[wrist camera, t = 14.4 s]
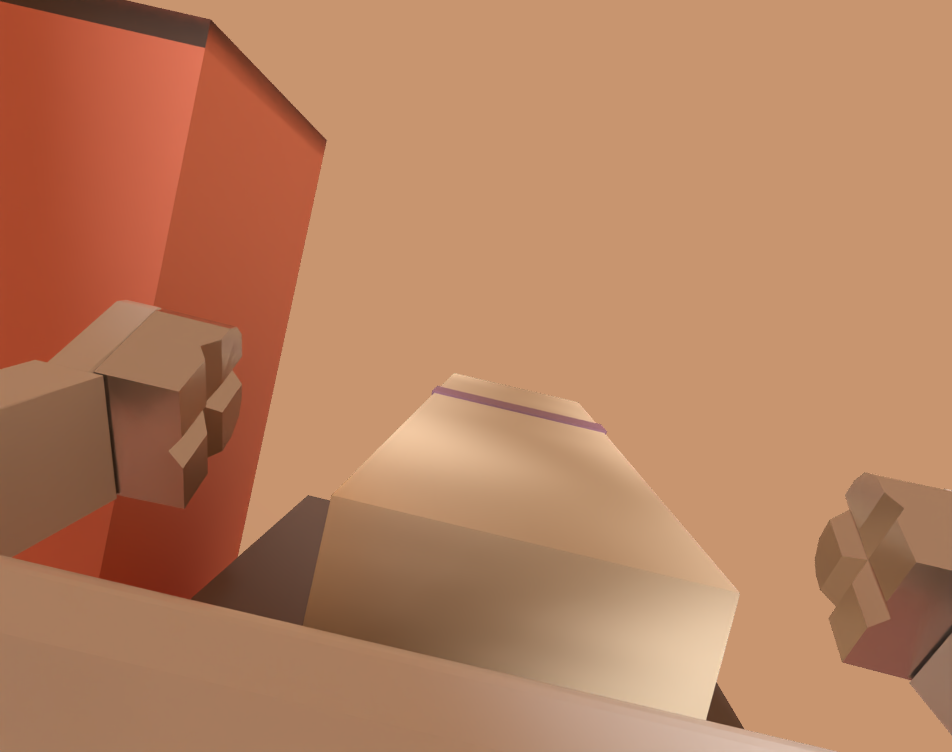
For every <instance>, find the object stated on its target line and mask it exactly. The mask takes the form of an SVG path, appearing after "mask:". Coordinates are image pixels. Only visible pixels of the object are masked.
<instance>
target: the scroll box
mask: <svg viewBox="0 0 952 752" xmlns="http://www.w3.org/2000/svg"><path fill="white" fill-rule="evenodd" d="M606 432H607V431H606V430H605V429H604V428H603V427H602V426H601V424H597V423H595V422H594V420H593V419H592V418H591V417H590V416H589V415H588V413H587V412H586V411H585V410H584V409H583V407H581V405H580V404H579V403H578V402H575V401H570V400H566V399H562V398H558V397H554V396H549V395H545V394H541V393H537V392H532V391H528V390H524V389H520V388H515V387H511V386H507V385H503V384H498V383H494V382H490V381H486V380H481V379H477V378H472V377H469V376H464V375H460V374H456V373H454V374H453V375H452V376H451V377H450V378H449V379H448V380H447V381H446V382H445V383H444V384H443V385H442V386H441V387H440V386H437V387H436V388H435V389H434V390H433V391H432V396H431V397H430V398H429V399H428V400H427V401H426V402H425V403H424V404H423V405H422V406H421V407H420V408H419V409H418V410H417V411H416V412H415V413H414V414H413V415H412V416H411V417H410V418H409V419H408V420H407V421H406V422H405V423H404V424H403V425H402V426H401V427H400V428H399V429H398V430H397V431H396V432H395V433H394V434H393V435H392V436H391V437H390V438H389V439H388V440H387V441H386V442H384V443H383V444H382V445H381V447H379V448H378V449H377V450H376V451H375V452H374V453H373V454H372V455H371V456H370V457H369V458H368V459H367V460H366V462H364V463H363V464H362V465H361V466H360V467H359V468H358V469H357V470H356V471H355V472H354V473H353V474H352V475H351V476H350V477H349V479H347V480H346V481H345V482H344V483H343V484H342V485H341V486H340V487H339V488H338V489H337V490H336V491H335V492H334V493H333V494H332V495H331V500H330V504H329V509H328V513H327V518H326V522H325V527H324V531H323V536H322V541H321V545H320V550H319V554H318V559H317V563H316V568H315V572H314V577H313V581H312V586H311V590H310V595H309V599H308V604H307V609H306V613H305V618H304V622H303V626H305V627H310V628H314V629H318V630H322V631H327V632H331V633H335V634H339V635H344V636H348V637H352V638H356V639H361V640H365V641H369V642H374V643H378V644H382V645H386V646H391V647H395V648H399V649H403V650H408V651H412V652H416V653H421V654H425V655H429V656H433V657H438V658H442V659H446V660H451V661H455V662H459V663H463V664H468V665H472V666H476V667H480V668H485V669H489V670H493V671H498V672H502V673H506V674H510V675H515V676H519V677H523V678H528V679H532V680H536V681H540V682H545V683H549V684H553V685H558V686H562V687H566V688H570V689H575V690H579V691H583V692H587V693H592V694H596V695H600V696H605V697H609V698H613V699H617V700H622V701H626V702H630V703H635V704H639V705H643V706H647V707H652V708H656V709H660V710H664V711H669V712H673V713H677V714H681V715H685V716H690V717H694V718H698V719H702V720H706V718H707V714H708V711H709V707H710V703H711V699H712V696H713V692H714V688H715V685H716V681H717V677H718V673H719V670H720V666H721V662H722V658H723V655H724V651H725V647H726V643H727V640H728V636H729V632H730V628H731V625H732V621H733V617H734V614H735V610H736V606H737V602H738V599H739V594H740V593H739V592H738V590H737V589H736V588H735V587H734V586H733V584H732V583H731V582H730V581H729V580H728V578H727V577H726V576H725V575H724V574H723V573H722V572H721V570H720V569H719V568H718V567H717V566H716V564H715V563H714V562H713V561H712V560H711V558H710V557H709V556H708V555H707V554H706V553H705V551H704V550H703V549H702V548H701V547H700V545H699V544H698V543H697V542H696V541H695V540H694V538H693V537H692V536H691V535H690V534H689V532H688V531H687V530H686V529H685V528H684V527H683V525H682V524H681V523H680V522H679V521H678V520H677V518H676V517H675V516H674V515H673V514H672V512H671V511H670V510H669V509H668V508H667V507H666V505H665V504H664V503H663V502H662V501H661V499H660V498H659V497H658V496H657V495H656V494H655V492H654V491H653V490H652V489H651V488H650V487H649V486H648V484H647V483H646V482H645V481H644V479H643V478H642V477H641V476H640V475H639V474H638V472H637V471H636V470H635V469H634V468H633V466H632V465H631V464H630V463H629V462H628V461H627V459H626V458H625V457H624V456H623V455H622V453H621V452H620V451H619V450H618V449H617V448H616V447H615V446H614V444H613V443H612V442H611V441H610V439H609V438H608V437H607V436H606Z"/></svg>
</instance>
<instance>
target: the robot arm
mask: <svg viewBox="0 0 952 752" xmlns="http://www.w3.org/2000/svg"><path fill="white" fill-rule="evenodd" d="M241 357H242V334H241V333H240V331H239V329H238V328H237V327H235V326H231V325H227V324H223V323H219V322H216V321H212V320H208V319H204V318H200V317H196V316H192V315H188V314H184V313H180V312H176V311H172V310H168V309H161V308H159V307H156V306H152V305H147V304H143V303H138V302H134V301H129V300H121V301H117V302H115V303H114V304H113V305H112V306H111V307H109V308H108V309H107V310H106V311H105V312H104V313H103V314H101V315H100V316H99V317H98V318H97V319H96V320H95V321H94V322H92V323H91V324H90V325H89V326H88V327H87V328H86V329H84V330H83V331H82V332H81V333H80V334H79V335H78V336H77V337H75V338H74V339H73V340H72V341H71V342H70V343H69V344H67V345H66V346H65V347H64V348H63V349H62V350H61V351H60V352H58V353H57V354H56V355H55V356H54V357H53V358H52V359H50V360H49V361H48V362H43V361H38V360H32V361H29V362H25V363H21V364H18V365H14V366H11V367H7V368H3V369H0V752H837V751H833V750H829V749H825V748H820V747H816V746H812V745H807V744H804V743H799V742H795V741H791V740H787V739H783V738H778V737H774V736H770V735H765V734H761V733H757V732H753V731H749V730H745V729H740V728H736V727H732V726H728V725H723V724H719V723H715V722H711V721H707V720H702V719H698V718H694V717H690V716H685V715H681V714H677V713H673V712H669V711H664V710H660V709H656V708H652V707H647V706H643V705H639V704H635V703H630V702H626V701H622V700H617V699H613V698H609V697H605V696H600V695H596V694H592V693H587V692H583V691H579V690H575V689H570V688H566V687H562V686H558V685H553V684H549V683H545V682H540V681H536V680H532V679H528V678H523V677H519V676H515V675H510V674H506V673H502V672H498V671H493V670H489V669H485V668H480V667H476V666H472V665H468V664H463V663H459V662H455V661H451V660H446V659H442V658H438V657H433V656H429V655H425V654H421V653H416V652H412V651H408V650H403V649H399V648H395V647H391V646H386V645H382V644H378V643H374V642H369V641H365V640H361V639H356V638H352V637H348V636H344V635H339V634H335V633H331V632H327V631H322V630H318V629H314V628H310V627H305V626H301V625H297V624H292V623H288V622H284V621H280V620H275V619H271V618H267V617H263V616H258V615H254V614H250V613H246V612H241V611H237V610H233V609H228V608H224V607H220V606H216V605H211V604H207V603H203V602H199V601H194V600H190V599H186V598H182V597H177V596H173V595H169V594H165V593H160V592H156V591H152V590H147V589H143V588H139V587H135V586H130V585H126V584H122V583H118V582H113V581H109V580H105V579H101V578H96V577H92V576H88V575H83V574H79V573H75V572H71V571H66V570H62V569H58V568H54V567H49V566H45V565H41V564H37V563H32V562H28V561H24V560H19V559H15V558H12V557H13V556H15V555H17V554H19V553H21V552H22V551H24V550H26V549H28V548H30V547H31V546H33V545H35V544H37V543H38V542H40V541H42V540H44V539H46V538H47V537H49V536H51V535H53V534H54V533H56V532H58V531H60V530H62V529H63V528H65V527H67V526H69V525H70V524H72V523H74V522H76V521H78V520H79V519H81V518H83V517H85V516H87V515H88V514H90V513H92V512H94V511H95V510H97V509H99V508H101V507H103V506H104V505H106V504H108V503H110V502H111V501H113V500H115V499H117V495H120V496H125V497H129V498H134V499H139V500H144V501H149V502H154V503H159V504H164V505H168V506H173V507H178V508H183V509H185V507H186V506H187V504H188V503H189V501H190V500H191V498H192V497H193V495H194V494H195V492H196V491H197V489H198V487H199V486H200V484H201V483H202V481H203V480H204V478H205V477H206V475H207V474H208V457H210V456H212V455H215V454H217V453H219V452H221V451H223V449H224V448H225V446H226V444H227V443H228V441H229V439H230V438H231V436H232V433H233V431H234V428H235V425H236V422H237V420H238V417H239V411H240V405H241V399H242V383H241V382H240V380H239V379H238V378H237V376H236V375H235V373H234V372H233V370H232V369H233V368H234V367H235V365H236V364H237V363H238V361H239V360H240V358H241ZM845 496H846V500H847V504H848V507H849V510H848V511H846V512H845V513H842V514H840V515H838V516H837V517H835V518H832V519H831V520H829V522H828V524H827V526H826V528H825V529H824V531H823V533H822V535H821V536H820V538H819V542H818V547H817V552H816V556H815V568H816V577H817V580H818V584H819V587H820V590H821V591H822V592H823V593H824V594H825V595H826V596H827V598H829V600H830V601H831V602H832V603H833V604H834V605H835V606H836V608H835V609H834V611H833V612H832V614H831V615H830V617H829V621H830V624H831V627H832V631H833V633H834V637H835V640H836V643H837V647H838V650H839V653H840V656H841V660H842V662H843V663H847V664H851V665H855V666H858V667H862V668H866V669H870V670H874V671H878V672H881V673H885V674H889V675H893V676H897V677H901V678H905V679H908V680H911V682H910V684H911V685H912V687H913V688H914V689H915V690H916V692H917V693H918V694H919V695H920V697H921V698H922V699H923V700H924V702H925V703H926V704H927V705H928V706H929V708H930V709H931V710H932V711H933V713H934V714H935V715H936V716H937V718H938V719H939V720H940V721H941V723H942V724H943V725H944V726H945V727H946V729H947V730H948V731H949V732H950V734H951V735H952V490H948V489H939V488H935V487H930V486H925V485H920V484H916V483H911V482H906V481H902V480H897V479H893V478H888V477H883V476H879V475H874V474H870V473H863V474H862V475H861V476H860V477H858V478H857V479H856V480H855V481H854V482H853V484H852V485H851V487H850V488H849V490H848V492H847V493H846V495H845Z"/></svg>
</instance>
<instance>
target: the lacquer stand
mask: <svg viewBox="0 0 952 752" xmlns="http://www.w3.org/2000/svg"><path fill="white" fill-rule="evenodd" d="M325 146H326V139H325V138H324V137H323V136H322V135H321V134H320V133H319V132H318V131H317V130H316V129H315V128H314V127H313V126H312V125H311V124H310V123H309V121H308V120H307V119H306V118H305V117H304V116H303V115H302V114H301V113H300V112H299V111H298V110H297V109H296V108H295V107H294V106H293V105H292V104H291V103H290V102H289V101H288V100H287V99H286V98H285V96H284V95H283V94H282V93H281V92H279V90H278V89H277V88H276V87H275V86H274V85H273V84H272V83H271V82H270V81H269V80H268V79H267V78H266V77H265V76H264V75H263V74H262V73H261V71H260V70H259V69H258V68H257V67H256V66H255V65H254V64H253V63H252V62H251V61H250V60H249V59H248V58H247V57H246V56H245V55H244V54H243V53H242V52H241V51H240V50H239V49H238V47H237V46H236V45H234V43H233V42H232V41H231V40H230V39H229V38H228V37H227V36H226V35H225V34H224V33H223V32H222V31H221V30H220V29H219V28H218V27H217V26H216V25H215V24H214V22H212V20H210V19H206V18H201V17H197V16H193V15H188V14H183V13H179V12H175V11H170V10H166V9H162V8H157V7H153V6H148V5H144V4H139V3H135V2H131V1H127V0H0V369H3V368H7V367H11V366H14V365H18V364H21V363H25V362H29V361H32V360H38V361H43V362H48V361H49V360H50V359H52V358H53V357H54V356H55V355H56V354H57V353H58V352H60V351H61V350H62V349H63V348H64V347H65V346H66V345H67V344H69V343H70V342H71V341H72V340H73V339H74V338H75V337H77V336H78V335H79V334H80V333H81V332H82V331H83V330H84V329H86V328H87V327H88V326H89V325H90V324H91V323H92V322H94V321H95V320H96V319H97V318H98V317H99V316H100V315H101V314H103V313H104V312H105V311H106V310H107V309H108V308H109V307H111V306H112V305H113V304H114V303H115V302H117V301H121V300H129V301H134V302H138V303H143V304H147V305H152V306H156V307H159V308H161V309H168V310H172V311H176V312H180V313H184V314H188V315H192V316H196V317H200V318H204V319H208V320H212V321H216V322H219V323H223V324H227V325H231V326H235V327H237V328H238V329H239V331H240V333H241V334H242V357H241V358H240V360H239V361H238V363H237V364H236V365H235V367H234V368H233V369H232V370H233V372H234V373H235V375H236V376H237V378H238V379H239V380H240V382H241V383H242V399H241V405H240V411H239V417H238V420H237V422H236V425H235V428H234V431H233V433H232V436H231V438H230V439H229V441H228V443H227V444H226V446H225V448H224V449H223V451H221V452H219V453H217V454H215V455H212V456H210V457H208V474H207V475H206V477H205V478H204V480H203V481H202V483H201V484H200V486H199V487H198V489H197V491H196V492H195V494H194V495H193V497H192V498H191V500H190V501H189V503H188V504H187V506H186V507H185V509H183V508H178V507H173V506H168V505H164V504H159V503H154V502H149V501H144V500H139V499H134V498H129V497H125V496H120V495H117V499H115V500H113V501H111V502H110V503H108V504H106V505H104V506H103V507H101V508H99V509H97V510H95V511H94V512H92V513H90V514H88V515H87V516H85V517H83V518H81V519H79V520H78V521H76V522H74V523H72V524H70V525H69V526H67V527H65V528H63V529H62V530H60V531H58V532H56V533H54V534H53V535H51V536H49V537H47V538H46V539H44V540H42V541H40V542H38V543H37V544H35V545H33V546H31V547H30V548H28V549H26V550H24V551H22V552H21V553H19V554H17V555H15V556H13V557H12V558H15V559H19V560H24V561H28V562H32V563H37V564H41V565H45V566H49V567H54V568H58V569H62V570H66V571H71V572H75V573H79V574H83V575H88V576H92V577H96V578H101V579H105V580H109V581H113V582H118V583H122V584H126V585H130V586H135V587H139V588H143V589H147V590H152V591H156V592H160V593H165V594H169V595H173V596H177V597H182V598H186V599H190V600H194V601H199V602H203V603H207V604H211V605H216V606H220V607H224V608H228V609H233V610H237V611H241V612H246V613H250V614H254V615H258V616H263V617H267V618H271V619H275V620H280V621H284V622H288V623H292V624H297V625H301V626H303V622H304V618H305V613H306V609H307V604H308V599H309V595H310V590H311V586H312V581H313V577H314V572H315V568H316V563H317V559H318V554H319V550H320V545H321V541H322V536H323V531H324V527H325V522H326V518H327V513H328V509H329V504H330V501H329V500H325V499H321V498H317V497H313V496H309V495H308V496H307V497H306V498H304V499H303V500H302V501H301V502H300V503H299V504H298V505H297V506H295V507H294V508H293V509H292V510H291V511H290V512H289V513H288V514H286V515H285V516H284V517H283V518H282V519H281V520H280V521H278V522H277V523H276V524H275V525H274V526H273V527H272V528H271V529H269V530H268V531H267V532H266V533H265V534H264V535H263V536H262V537H260V539H258V540H257V541H256V542H255V543H253V544H252V545H251V546H250V547H249V548H248V549H247V550H245V551H244V552H243V553H242V554H241V555H240V556H239V557H238V553H239V548H240V543H241V539H242V533H243V529H244V525H245V520H246V515H247V511H248V506H249V501H250V496H251V492H252V487H253V483H254V478H255V473H256V469H257V464H258V459H259V454H260V450H261V445H262V440H263V436H264V431H265V426H266V422H267V417H268V412H269V407H270V403H271V398H272V394H273V388H274V384H275V379H276V375H277V370H278V365H279V361H280V356H281V351H282V347H283V342H284V338H285V333H286V328H287V323H288V319H289V314H290V309H291V305H292V300H293V295H294V291H295V286H296V281H297V276H298V272H299V267H300V263H301V258H302V253H303V249H304V244H305V239H306V235H307V230H308V225H309V221H310V216H311V211H312V206H313V201H314V197H315V192H316V188H317V183H318V178H319V174H320V169H321V164H322V159H323V155H324V150H325ZM237 557H238V558H237ZM706 720H707V721H711V722H715V723H719V724H723V725H728V726H732V727H736V728H740V729H744V728H743V726H742V724H741V723H740V721H739V720H738V718H737V716H736V714H735V713H734V711H733V709H732V708H731V706H730V704H729V703H728V701H727V699H726V698H725V696H724V694H723V693H722V691H721V689H720V688H719V686H718V684H717V683H716V685H715V688H714V692H713V696H712V699H711V703H710V707H709V711H708V714H707V718H706Z"/></svg>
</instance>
